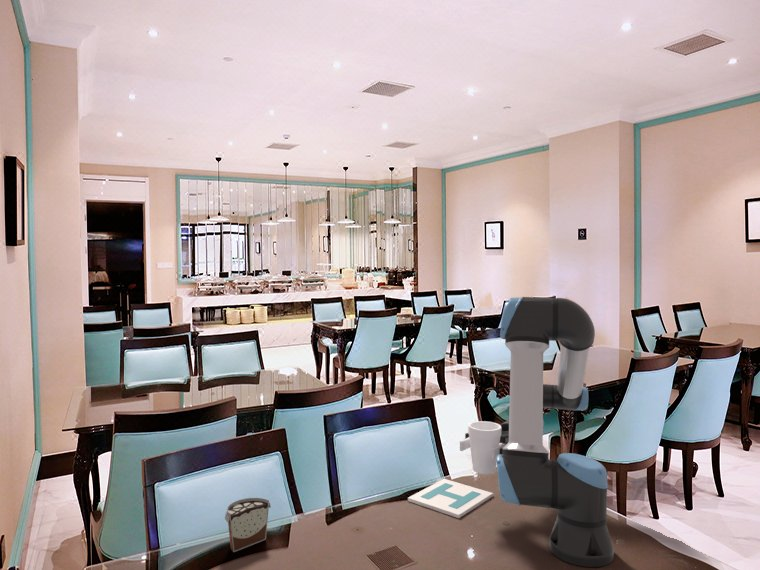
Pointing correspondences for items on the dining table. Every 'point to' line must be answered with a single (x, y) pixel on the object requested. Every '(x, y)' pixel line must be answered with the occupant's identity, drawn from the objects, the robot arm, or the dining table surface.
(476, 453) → the foam cup
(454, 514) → the letter board
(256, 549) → the dining table surface
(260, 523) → the food container
